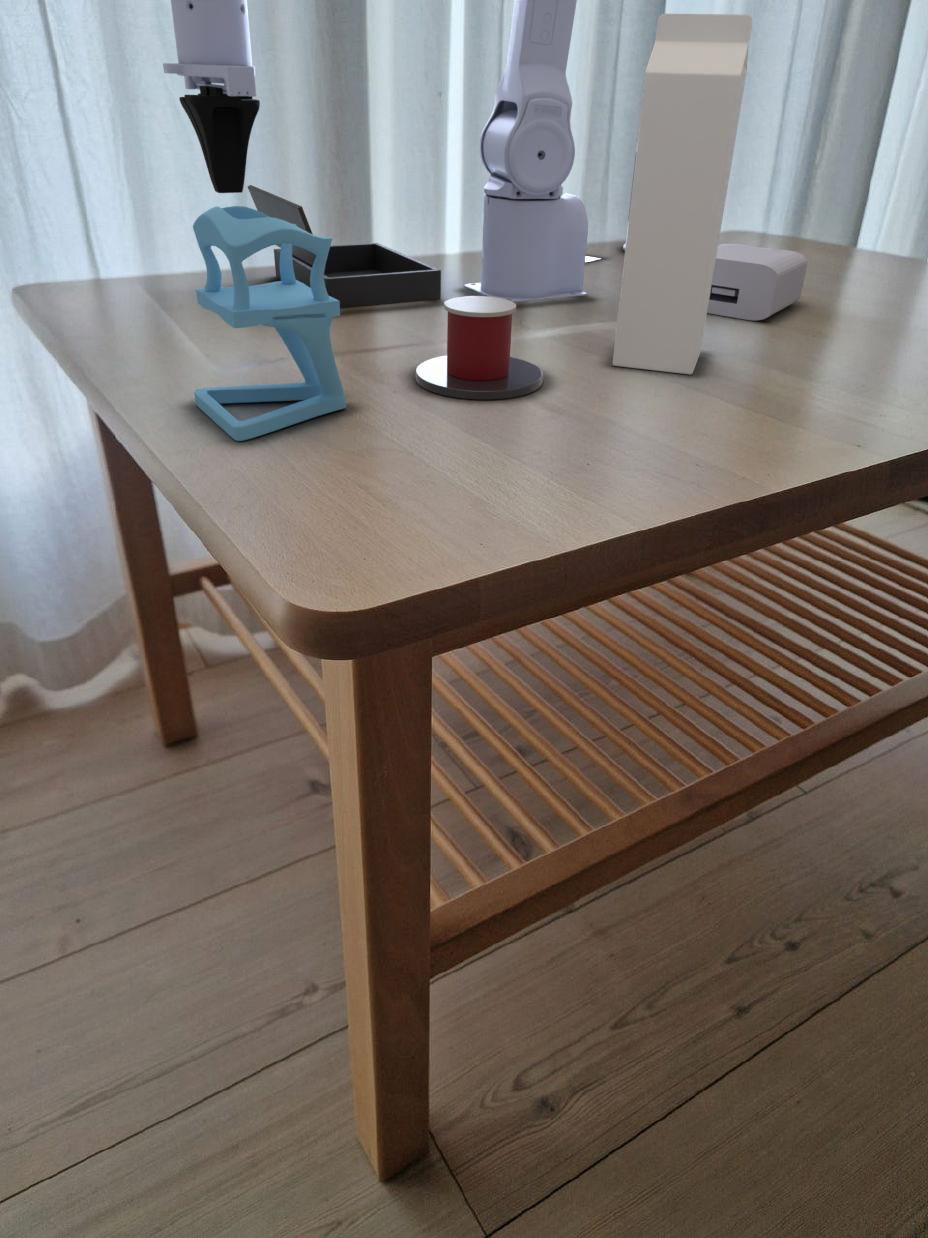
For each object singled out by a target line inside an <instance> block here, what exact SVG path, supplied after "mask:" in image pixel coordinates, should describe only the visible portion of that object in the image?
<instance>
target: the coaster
mask: <svg viewBox="0 0 928 1238" xmlns="http://www.w3.org/2000/svg"><path fill="white" fill-rule="evenodd" d="M543 379H544V373H543V371H542V370H541V368H540V367H538V366H537V365H536V364H535V363H533V362H532V363H531V362H529V361H526V360H524V359H521V358H516V357H512V356H510V367H509V374H508V375H507V376H506V377H503V378H500V379H496V380H489V381H473V380H465V379H460V378H456V377H454V376H451V375H450V374H449V373H448V372H447V354H446V355H441V356H436V357H432V358H430V359H427V360H425V361H423V362H421V363H419V364H418V365H417V366H416V368H415V382H416V383H417V384H418V386H420V387H421V388H422V389H424V390H426V391H429V392H431V393H434V394H437V395H441V396H446V397H450V398H456V399H462V400H463V399H465V400H477V401H479V400H480V401H481V400H483V401H489V400H491V401H492V400H494V401H495V400H504V399H506V400H507V399H512V398H517V397H518V398H519V397H523V396H526V395H529V394H532V393H533V392H535V391H537V390H539V388H541V386H542V385H543V381H544V380H543Z"/></svg>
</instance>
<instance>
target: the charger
mask: <svg viewBox="0 0 928 1238" xmlns="http://www.w3.org/2000/svg"><path fill="white" fill-rule="evenodd" d="M808 263H809V262H808V259H807V257H806V256H805V255H803V254H802V253H800V252H798V251H794V250H788V249H780V248H772V247H764V246H755V245H748V244H741V243H729V242H726V243H721V244H718V249H717V255H716V261H715V267H714V273H713V279H712V285H711V292H710V298H709V304H708V310H707V314H710V315H717V316H722V317H728V318H735V319H739V320H746V321H763V320H765V319H767V318H769V317H771V316H773V315H774V314H776V313H778V312H779V311H781V310H783V309H785V308H787V307H789V306H791V305H792V304H794V303H796V302H798V300H800V298H801V295H802V292H803V287H804V282H805V278H806V273H807V268H808V265H809V264H808Z"/></svg>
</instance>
